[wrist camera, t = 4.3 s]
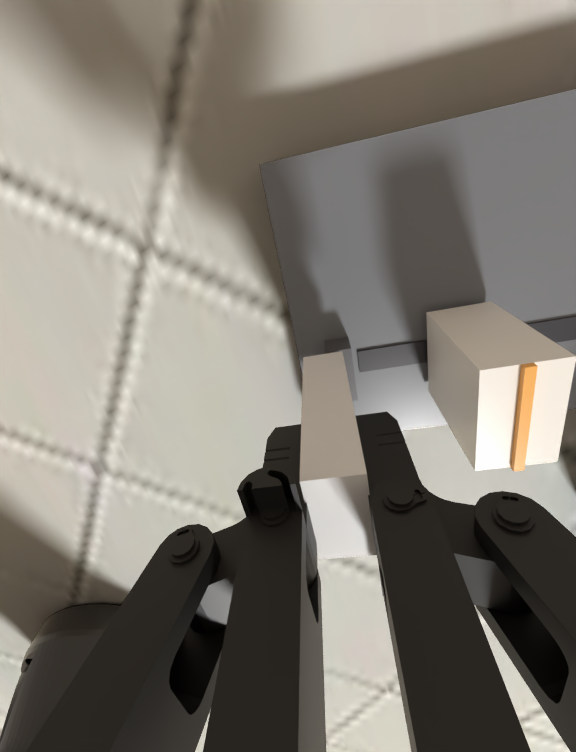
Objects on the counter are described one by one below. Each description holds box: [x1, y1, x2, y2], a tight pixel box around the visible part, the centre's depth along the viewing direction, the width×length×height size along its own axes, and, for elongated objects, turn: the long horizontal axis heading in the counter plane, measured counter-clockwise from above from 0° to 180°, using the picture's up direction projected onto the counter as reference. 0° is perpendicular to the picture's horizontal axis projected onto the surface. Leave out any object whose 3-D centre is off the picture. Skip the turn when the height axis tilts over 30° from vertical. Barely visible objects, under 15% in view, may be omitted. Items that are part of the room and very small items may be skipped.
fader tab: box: [426, 301, 576, 471], centre depth 13 cm, size 2×4×5 cm, turn 12°
